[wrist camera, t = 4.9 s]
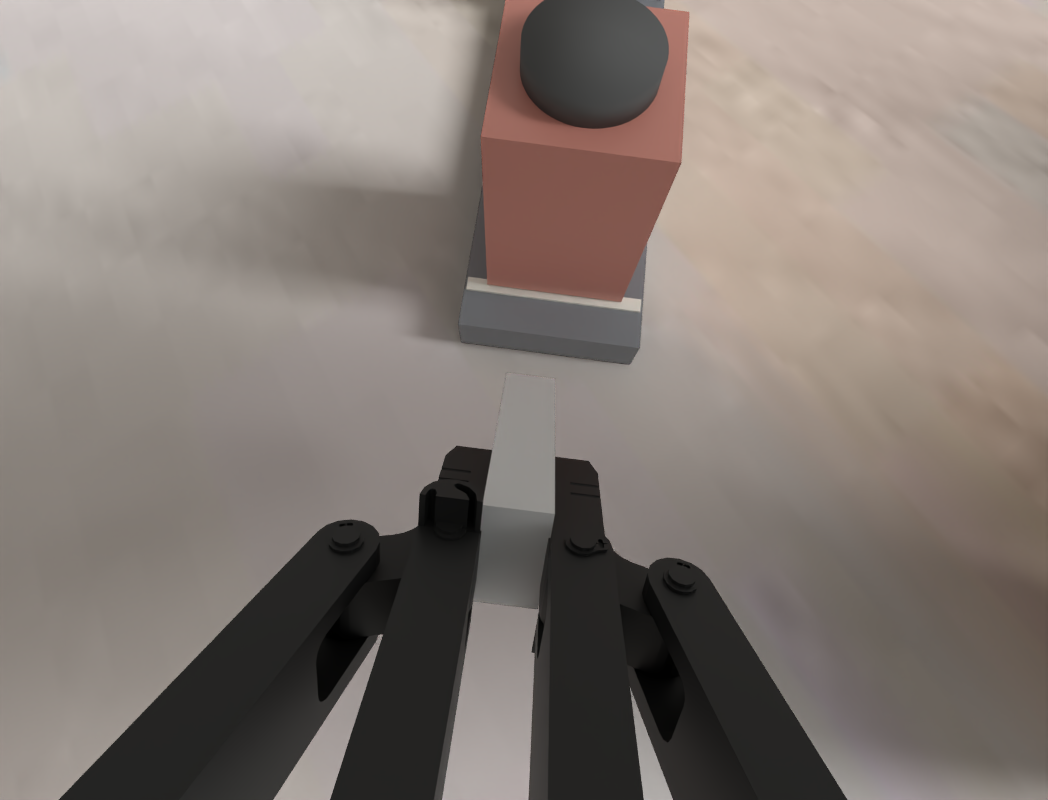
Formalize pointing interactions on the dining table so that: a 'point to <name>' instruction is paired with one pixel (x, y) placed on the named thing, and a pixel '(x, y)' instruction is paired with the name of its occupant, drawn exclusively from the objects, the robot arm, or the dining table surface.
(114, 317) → the dining table surface
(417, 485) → the dining table surface
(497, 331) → the track
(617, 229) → the plug
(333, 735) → the dining table surface
